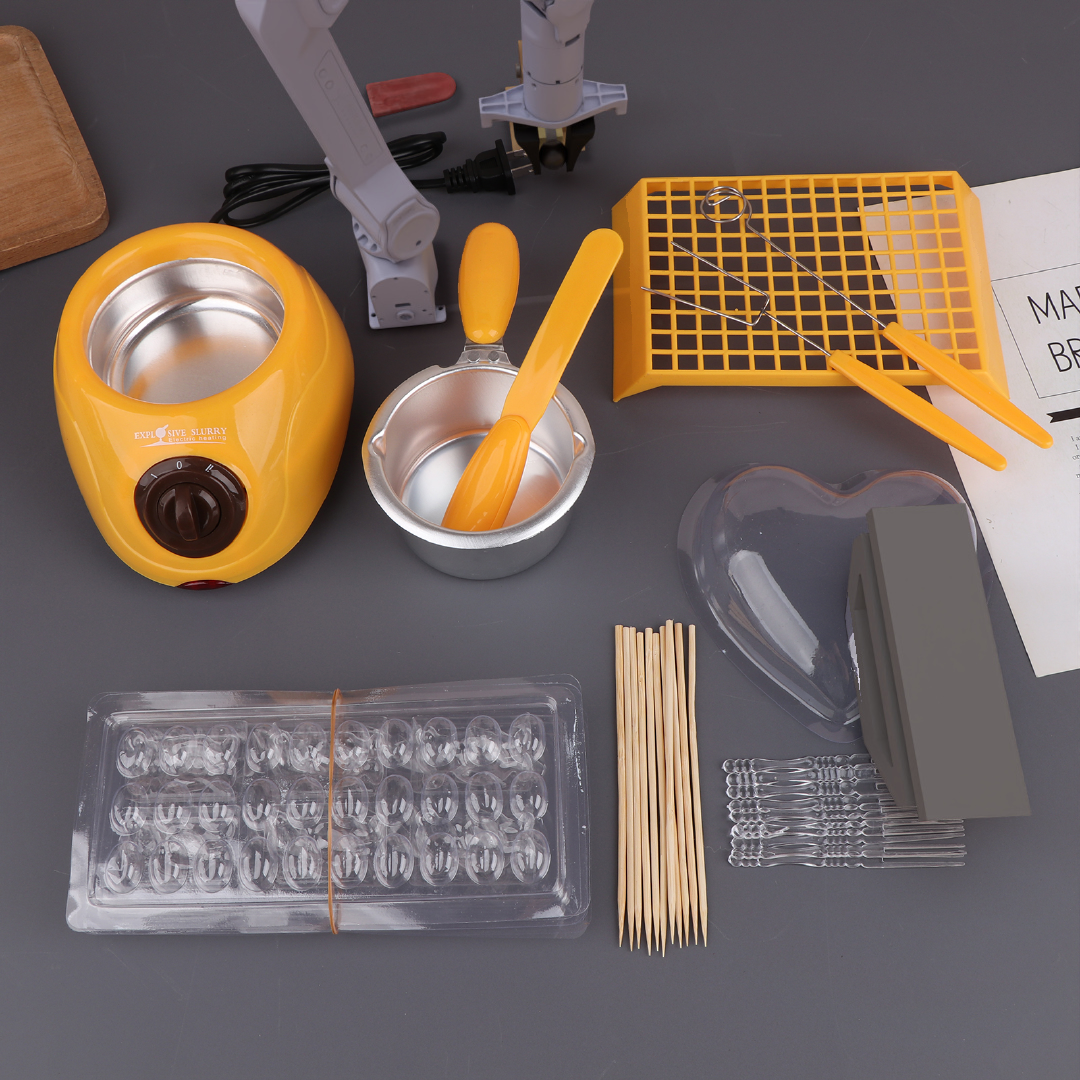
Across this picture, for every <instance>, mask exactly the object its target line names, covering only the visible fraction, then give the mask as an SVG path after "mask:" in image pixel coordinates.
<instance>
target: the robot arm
mask: <svg viewBox="0 0 1080 1080" xmlns="http://www.w3.org/2000/svg"><path fill="white" fill-rule="evenodd" d="M595 1H596V0H519V3H520V5H519V6H520V31H521V40H522V58H523V84H521V85H520V84H519V85H515V86H516V87H514V88H511V89H509V90H504V91H501V92H498V93H496V94H493V95H490V96H485V97H484V96H483V97H479V98H478V105H479V106H478V107H479V114H480V116H479V117H480V126H481V128H482V129H486V128H487V129H488V128H492V127H493V123H497V122H509V121H510V122H513V128H514V136H515V140H516V142H517V144H518V145H519V146H520V147H521V148H522V149H523V150H524V151H525V153H526V154H527V156H526V157H528V159H529V161H530V163H531V166H532V170H533V175H534V176H540V175H542V168H541V167H542V166H541V162H540V159H539V145H540V139H539V132H538V127H542V128H547V129H559V128H563V127H566V139H565V147H566V150H567V159H566V162H565V168H566V173H571V172H574V170H575V167H576V163H577V162H578V161H577V160H578V158H579V156H580V154H581V152H583V151H582V149H583V148H584V146H585V147H586V145H587V144H588V143H589V142H590V141H592V139H594V136H595V133H596V121H595V116H596V115H598V114H600V113H603V112H608V111H614V114H615V115H617V116H622V115H627V110H628V101H629V99H628V93H627V87H626V84H625V83H619V84H616V83H615V84H614V83H604V82H599V81H594V80H588V79H584V65H585V64H584V62H585V37H586V35H585V34H586V29H587V28H588V24H589V23H591V20H590V19H591V11H592V7H593V4H594V3H595ZM349 2H350V0H234V3H235V7H236V9H237V12H238V14H239V16H240V18H241V20H242V22H243V23H244V25H245V27H246V28H247V30H248V31H249V33H250V35H251V36H252V38H253V40H254V42H256V44H257V45H258V47H259V49H260V50H261V53H262V54H263V55H264V57H265V59H266V60H267V62H268V63H269V65H270V68H272V70H273V72H274V74H275V75H276V77H277V79H278V80H279V82H280V83H281V85H282V87H283V89H284V90H285V91H286V93H287V94H288V96H289V98H290V99H291V101H292V102H293V104H294V106H295V108H296V109H297V110H298V113H299V114H300V115H301V117H302V119H303V120H304V122H305V125H307V127H308V128H309V130H310V132H311V133H312V135H313V137H314V138H315V140H316V141H317V143H318V145H319V146H320V148H321V150H322V151H323V153H324V154H325V156H326V157H324V161H323V162H324V163H325V165H326V166H327V169H328V171H329V185H330V191H331V194H332V195H333V197H334V198H335V199H336V200H337V201H338V202H340V203H341V204H342V205H343V206H344V207H345V208H346V209H347V211H349V213H350V215H351V220H352V230H353V234H354V237H355V240H356V244H357V247H358V250H359V252H360V255H361V256H360V257H361V258H362V259H361V260H362V262H363V266H364V268H365V271H366V282H367V303H368V321H369V322H368V323H369V327H370V328H371V329H372V330H382V329H391V328H402V327H411V326H412V327H413V326H420V325H431V324H441V323H444V322H446V320H447V310H446V304H438V305H436V300H435V299H436V297H435V292H436V287H437V285H438V284H437V283H438V280H439V270H438V265H437V259H436V256H435V250H434V245H433V241H434V239H435V237H436V235H437V232H438V231H439V227H440V222H441V215H440V212H439V210H438V208H437V207H436V206H435V205H434V204H433V203H432V202H430V201H428V199H426V197H424V195H423V194H422V193H420V191H419V190H418V189H417V187H415V185H413V184H412V182H411V180H410V179H409V178H408V177H407V175H406V174H405V172H404V171H403V170H402V168H401V167H400V166H399V164H398V163H397V162H396V160H395V159H394V157H393V154H392V153H391V151H390V149H389V147H388V145H387V143H386V141H385V139H384V137H383V134H382V133H381V131H380V128H379V127H378V124H377V123H376V121H375V119H374V116H373V114H372V113H371V110H370V109H369V107H368V105H367V103H365V102H366V101H365V99H364V96H362V93H361V91H360V89H359V87H358V85H357V83H356V81H355V79H354V77H353V75H352V73H351V71H350V69H349V67H348V65H347V63H346V61H345V59H344V57H343V55H342V53H341V52H340V49H339V47H338V45H337V43H336V42H335V41H336V40H334V38H333V36H332V34H331V31H330V30H329V29H330V28H332V27H333V25H334V24H335V22H336V21H337V19H338V18H339V17H340V15H341V13H342V12H343V10H344V9H345V8H346V6H347V5H348V4H349ZM440 309H441V310H440Z"/></svg>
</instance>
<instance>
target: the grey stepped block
mask: <svg viewBox="0 0 1080 1080" xmlns="http://www.w3.org/2000/svg"><path fill="white" fill-rule="evenodd" d="M865 517H866V518H865V519H866V523H867V524H866V525H867V529H868V532H861V533H859V535H858V536H857V537H855V538H854V540H853V541H852V549H851V556H850V563H849V571H848V572H849V573H848V580H847V591H846V593H847V592H848V597H849V605H850V612H851V618H852V627H853V633H854V640H855V646H856V654H857V663H858V668H859V678H860V690H859V683H858V677H857V675H855V677H856V679H855V678H854V677H853V681H854V682H853V683H854V688H855V695H856V700H857V707H858V713H859V719H860V725H861V732H862V739H863V744H864V746H865V749H867V752H868V753H869V755H870V757H871V759H872V761H873V763H874V766H875V767H876V769H877V771H878V773H879V775H880V777H881V778H882V780H883V782H884V784H885V786H886V788H887V790H888V792H889V794H890V796H891V797H892V800H893V801H894V803H895V805H896V807H897V808H911V807H915V808H916V811H917V816H918V817H917V818H918V822H924V821H945V820H966V819H968V820H969V819H985V818H986V819H987V818H1006V817H1007V818H1008V817H1027V816H1028V817H1029V816H1033V814H1032V809H1031V805H1030V800H1029V796H1028V795H1029V794H1028V790H1027V785H1026V781H1025V777H1024V771H1023V768H1022V767H1023V766H1022V762H1021V758H1020V752H1019V748H1018V744H1017V740H1016V734H1015V730H1014V725H1013V720H1012V715H1011V710H1010V705H1009V702H1008V701H1009V700H1008V696H1007V692H1006V686H1005V682H1004V678H1003V672H1002V668H1001V664H1000V659H999V653H998V650H997V645H996V640H995V635H994V630H993V626H992V622H991V621H992V620H991V617H990V612H989V608H988V602H987V598H986V593H985V589H984V584H983V579H982V574H981V569H980V565H979V561H978V555H977V550H976V546H975V541H974V537H973V531H972V528H971V527H972V526H971V523H970V518H969V513H968V508H967V503H966V502H962V503H959V502H958V503H941V504H939V503H938V504H921V505H920V504H919V505H917V504H916V505H897V506H896V505H895V506H875V507H871V508H870V509H869V510H868V511H867V512H866V513H865ZM854 674H855V672H854ZM860 691H861V696H860ZM861 700H862V702H861Z"/></svg>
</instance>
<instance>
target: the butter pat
mask: <svg viewBox="0 0 1080 1080" xmlns="http://www.w3.org/2000/svg"><path fill="white" fill-rule="evenodd" d="M538 132H539V139H540V145H539V150H540V147H541V146H542V144H543V143H544V142H546V135H545V128H542V127H538ZM556 134H557V140H559V141H561V142H562V143H563V132H562V128H559V129H556Z"/></svg>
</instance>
